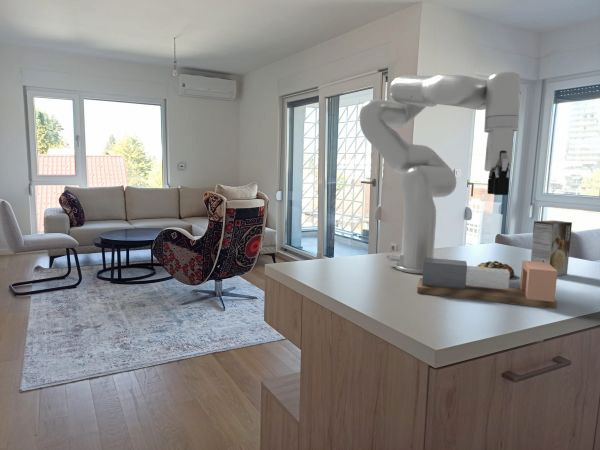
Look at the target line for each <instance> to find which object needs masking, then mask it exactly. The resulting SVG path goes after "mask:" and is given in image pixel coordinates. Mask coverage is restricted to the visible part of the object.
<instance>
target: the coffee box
mask: <svg viewBox="0 0 600 450" xmlns="http://www.w3.org/2000/svg"><path fill="white" fill-rule="evenodd" d="M572 225H573V222H572V221H571V222H570V221H562V220H535V221H533V227H532V229H533V231H532V241H531V252H530V253H531V254H530V261H535V262H547V263H549V264H550V265H551V266H552V267H553V268H555V269H556V270H557V271H558V272H557V277H559V276H565V275H568V270H569V257H570V248H571V238H572V227H573V226H572Z"/></svg>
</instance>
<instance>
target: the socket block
mask: <svg viewBox="0 0 600 450" xmlns="http://www.w3.org/2000/svg"><path fill="white" fill-rule="evenodd" d="M521 262H522V263H521V273H520V282H519V288H520V289H521V290H522V291H525V297H526V298H527V299H532V300H542V301H551V302H554V301H555V300H556V291H557V290H556V289H557V280H558V276H557V272H558V271H557V270H556V269H555V268H553V267H552V266H551V265H550V264H549V263H547V262H535V261H531V260H523V259H522V261H521Z"/></svg>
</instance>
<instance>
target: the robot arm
mask: <svg viewBox="0 0 600 450" xmlns="http://www.w3.org/2000/svg"><path fill="white" fill-rule="evenodd" d="M521 79H522V78H521V76H520V74H519V73H517V72H515V71H503V72H501V71H500V72H497V73H493V74H491V75H490V76H488V78H487V79H481V78H478V77H473V76H467V75H462V74H461V75H460V74H436V75H415V74H414V75H408V74H407V75H400V76H397V77H396V78H394V79H393V81H391V83H390V86H389V94H390V97H391V99H392V100H393V101H392V100H387V99H381V98H380V99H371V100H367V101H366V102H365V103H364V104H363V105H362V106H361V107H360V111H359V126H360V128H361V133H362V134H363V135H364V138H365V139H366V140H367V141H368V142H369V143H370V144H371V145H372V146H373V148H375V150H376V152H378V153H379V154H380V156H381V157H382V159H384V161H385V162H386V163H387V165H388V166H389V167H390V168H391V169H392V171H394V172H395V173H397V174H400V175H402V179H401V188H402V194H403V195H402V197H403V222H402V239H401V252H400V253H397V254H393V253H392V254H391V253H387V254H386V260H387V261H390V262H396V264H395V269H396V270H398V271H401V272H404V273H410V274H419V275H420V274H421V275H423V265H424V259H425V258H435V257H434V255H435V240H436V227H437V225H436V224H437V208H436V204H435V202H434V198H444V197H445V198H446V197H449V196H450V195H452V193H453V192H454V191H455V189H456V187H457V178H456V174H455V172H454V171H453V170H452V168H451V167H450V166H449V165H448V164H447V163H446V161H444V160H443V158H442V157H440V156H439V155H438V154H437V152H435V150H434V149H432V148H430V147H428V146H427V145H423V144H413V143H409V142H407V141H406V140H404V138H403V137H402V136H401V135H400V133H399V132H397V131H396V130H395V129H400V128H403V127H405V126H407V125H408V124H409V123H410V122H411V121H413V120H414V119H415V117H417V116H418V115H419V114H421V112H423V110H425V109H426V107H430V108H431V107H436V106H437V105H441V106H442V105H443V106H449V107H450V106H451V107H460V108H465V109H470V110H475V111H476V110H477V111H479V110H480V111H482V110H483V111H484V110H485V111H484V114H485V115H484V130H483V131H484V133H488V134H487V138H486V139H487V141H486V145H485V146H486V148H485V160H484V170H485V172H489V173H488V179H487V190H486V191H487V195H494V196H508V195H509V185H510V172H509V170H510V169H511V168H512V164H513V163H512V161H513V146H514V144H513V143H514V142H513V141H514V132H518V130H519V117H520V116H519V113H520V99H521V85H522V84H521V83H522V82H521V81H522V80H521Z"/></svg>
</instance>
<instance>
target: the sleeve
mask: <svg viewBox="0 0 600 450" xmlns="http://www.w3.org/2000/svg"><path fill="white" fill-rule="evenodd" d="M467 266H468V265H467V260H458V259H457V260H456V259H448V258H446V259H445V258H437V257H434V258H425V259H424V265H423V274H422V278H423V281H422V286H431V287H441V288H450V289H459V290H465V286H466V273H467Z"/></svg>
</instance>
